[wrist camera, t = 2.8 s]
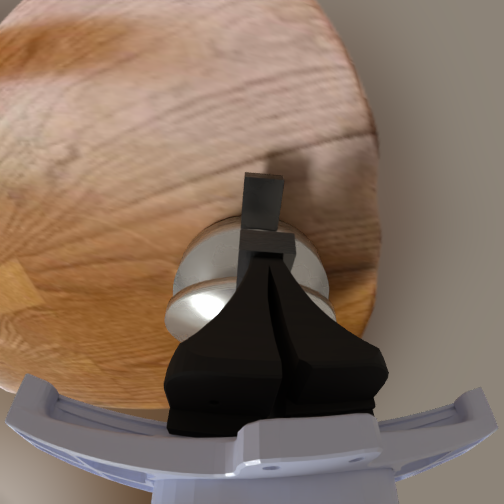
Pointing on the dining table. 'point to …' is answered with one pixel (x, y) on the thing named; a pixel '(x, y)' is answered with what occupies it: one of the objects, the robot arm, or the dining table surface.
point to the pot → (228, 235)
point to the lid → (232, 284)
